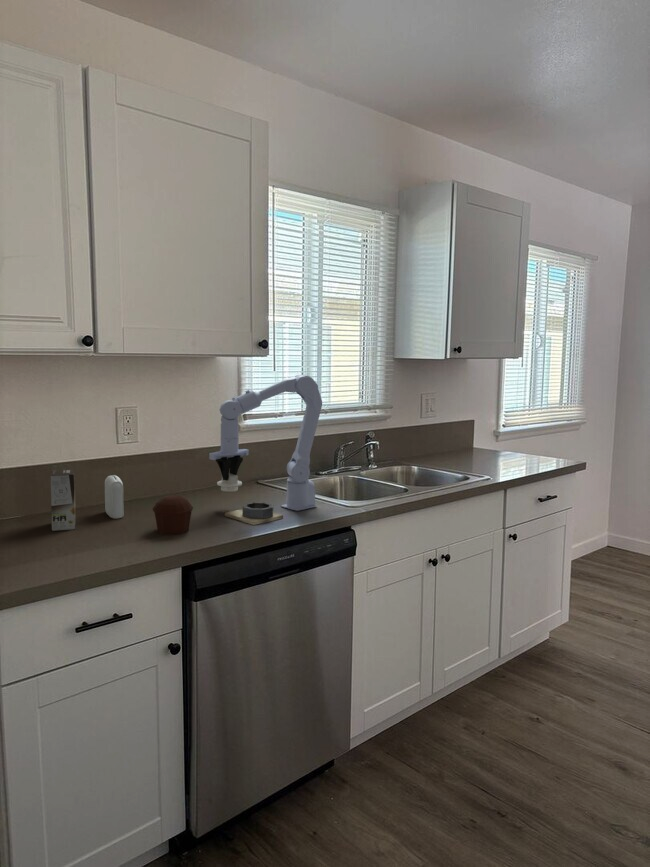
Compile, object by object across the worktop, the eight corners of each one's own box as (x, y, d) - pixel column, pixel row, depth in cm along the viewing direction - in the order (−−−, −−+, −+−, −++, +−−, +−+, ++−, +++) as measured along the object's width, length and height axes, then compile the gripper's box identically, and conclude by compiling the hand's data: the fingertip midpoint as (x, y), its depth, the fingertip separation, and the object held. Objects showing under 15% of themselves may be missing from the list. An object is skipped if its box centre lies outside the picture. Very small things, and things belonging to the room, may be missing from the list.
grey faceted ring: (259, 509, 211) (259, 500, 211) (279, 515, 205) (279, 506, 205) (236, 514, 205) (237, 505, 204) (256, 520, 198) (256, 511, 198)
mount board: (253, 509, 215) (253, 506, 215) (283, 518, 206) (283, 515, 206) (224, 515, 207) (224, 512, 207) (253, 525, 197) (253, 521, 197)
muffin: (187, 536, 184) (187, 501, 182) (148, 535, 184) (147, 500, 182) (196, 525, 195) (196, 492, 194) (159, 524, 196) (159, 491, 194)
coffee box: (75, 529, 188) (74, 474, 185) (51, 531, 185) (49, 475, 183) (75, 521, 196) (74, 468, 194) (52, 522, 194) (50, 469, 192)
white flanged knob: (231, 485, 219) (231, 471, 219) (247, 490, 214) (247, 475, 213) (212, 489, 214) (212, 474, 213) (227, 493, 208) (227, 478, 207)
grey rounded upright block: (103, 511, 208) (103, 473, 206) (117, 510, 210) (117, 472, 208) (110, 519, 199) (109, 479, 197) (125, 518, 201) (124, 478, 199)
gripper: (239, 434, 220) (238, 474, 221) (203, 438, 209) (203, 480, 211) (253, 437, 215) (252, 478, 217) (217, 441, 204) (217, 483, 206)
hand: (229, 479), depth 213 cm, fingers closed on white flanged knob, 2 cm apart
